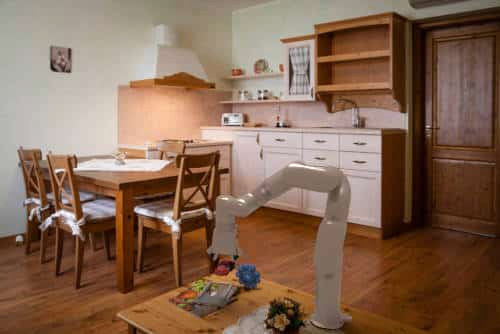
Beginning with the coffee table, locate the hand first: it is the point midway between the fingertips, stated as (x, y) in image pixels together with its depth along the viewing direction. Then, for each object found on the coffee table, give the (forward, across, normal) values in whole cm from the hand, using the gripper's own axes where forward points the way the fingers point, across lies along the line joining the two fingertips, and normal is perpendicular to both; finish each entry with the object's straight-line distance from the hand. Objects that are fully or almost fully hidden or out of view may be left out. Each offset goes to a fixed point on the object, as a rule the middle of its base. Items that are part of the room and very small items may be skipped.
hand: (224, 269), depth 177 cm
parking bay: (+16, +6, -10) cm, 19 cm away
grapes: (+16, -6, -19) cm, 26 cm away
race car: (+1, 0, 0) cm, 1 cm away
